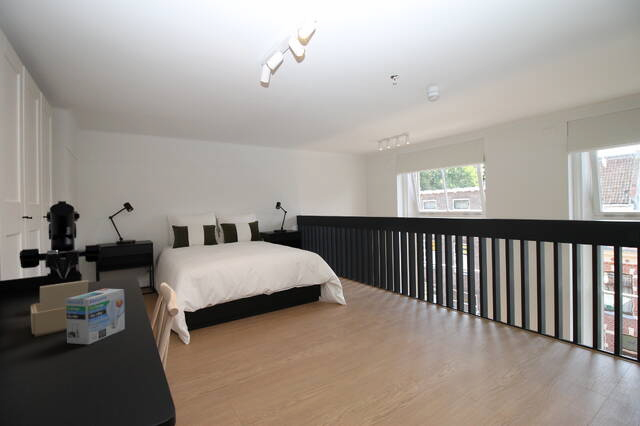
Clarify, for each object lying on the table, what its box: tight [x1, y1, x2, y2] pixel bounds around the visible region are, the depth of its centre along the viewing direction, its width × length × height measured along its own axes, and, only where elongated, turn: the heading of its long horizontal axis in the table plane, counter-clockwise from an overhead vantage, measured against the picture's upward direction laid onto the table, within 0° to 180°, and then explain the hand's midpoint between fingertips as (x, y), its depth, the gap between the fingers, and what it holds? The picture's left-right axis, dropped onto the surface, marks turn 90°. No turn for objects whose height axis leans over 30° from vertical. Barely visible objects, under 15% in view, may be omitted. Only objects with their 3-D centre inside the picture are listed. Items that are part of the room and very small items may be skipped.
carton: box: [30, 302, 67, 338], centre depth 86 cm, size 13×12×6 cm
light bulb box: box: [66, 288, 126, 345], centre depth 77 cm, size 11×7×11 cm, turn 168°
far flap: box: [39, 279, 90, 312], centre depth 80 cm, size 8×10×1 cm
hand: (63, 278), depth 89 cm, fingers closed
